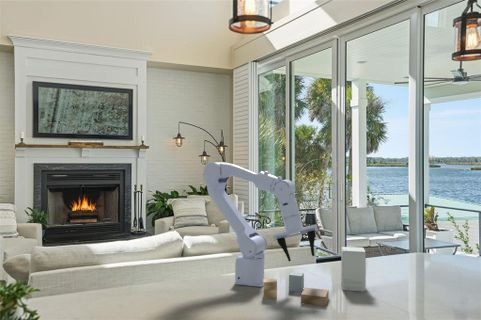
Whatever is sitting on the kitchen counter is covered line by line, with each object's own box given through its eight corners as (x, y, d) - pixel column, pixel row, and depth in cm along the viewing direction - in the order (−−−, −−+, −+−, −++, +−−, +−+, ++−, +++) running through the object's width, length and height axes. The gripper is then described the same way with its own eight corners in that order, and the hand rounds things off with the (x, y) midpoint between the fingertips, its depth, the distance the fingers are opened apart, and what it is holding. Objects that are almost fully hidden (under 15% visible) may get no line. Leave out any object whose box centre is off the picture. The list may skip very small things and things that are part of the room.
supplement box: (365, 291, 133) (366, 251, 133) (341, 290, 134) (341, 250, 134) (363, 285, 140) (364, 247, 140) (340, 283, 142) (341, 246, 142)
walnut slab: (300, 304, 122) (300, 294, 122) (305, 297, 128) (305, 287, 128) (325, 307, 120) (325, 296, 120) (328, 299, 126) (328, 289, 126)
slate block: (288, 290, 134) (289, 274, 134) (291, 287, 138) (291, 271, 138) (301, 292, 133) (301, 276, 133) (303, 288, 136) (303, 272, 136)
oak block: (263, 298, 126) (263, 282, 126) (263, 294, 130) (263, 278, 130) (276, 299, 126) (277, 282, 126) (276, 295, 130) (276, 278, 130)
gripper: (268, 222, 133) (279, 265, 131) (314, 211, 132) (325, 254, 130) (269, 220, 140) (279, 261, 138) (312, 210, 139) (322, 251, 137)
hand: (301, 258), depth 135 cm, fingers open, 7 cm apart
